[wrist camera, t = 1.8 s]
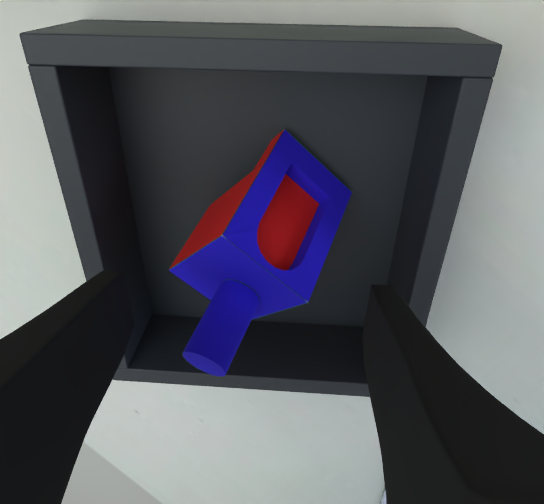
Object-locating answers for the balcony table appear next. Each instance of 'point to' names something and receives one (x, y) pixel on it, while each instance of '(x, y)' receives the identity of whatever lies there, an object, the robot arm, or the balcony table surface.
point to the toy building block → (259, 248)
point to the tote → (242, 160)
